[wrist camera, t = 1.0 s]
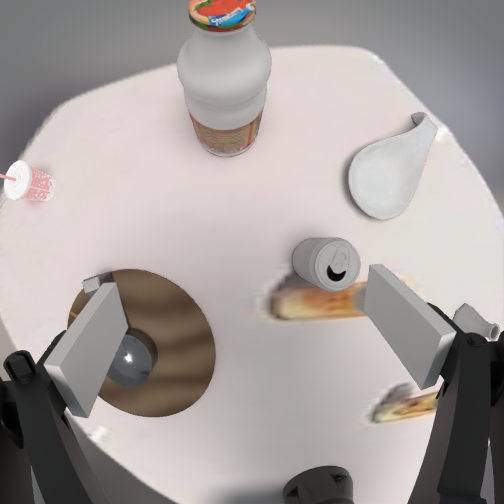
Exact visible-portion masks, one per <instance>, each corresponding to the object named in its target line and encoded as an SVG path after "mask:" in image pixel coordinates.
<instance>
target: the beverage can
mask: <svg viewBox="0 0 504 504" xmlns="http://www.w3.org/2000/svg"><path fill="white" fill-rule="evenodd" d="M293 266H294V269H295V271H296V272H297V274H298V275H299V276H300V277H302V278H303V279H305V280H307V281H309V282H311V283H312V284H314V285H316V286H318V287H320V288H322V289H324V290H327V291H332V292H335V291H340V290H343V289H345V288H347V287H349V286H350V285H352V284H353V283H354V282H355V280H356V279H357V277H358V275H359V272H360V267H361V262H360V257H359V254H358V252H357V251H356V249H355V248H354V247H353V246H352V245H351V244H350V243H349V242H348V241H346V240H344V239H341V238H311V239H307V240H304V241H303V242H301V243H300V244H299V245H298V246H297V247H296V249H295V251H294V254H293Z"/></svg>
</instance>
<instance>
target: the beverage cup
mask: <svg viewBox="0 0 504 504" xmlns="http://www.w3.org/2000/svg"><path fill="white" fill-rule="evenodd" d="M0 177H1V178H5V181H4V189H5V193H6V195H7V197H8V198H9V199H12V200H19V199H27V200H39V201H47V200H49V199H50V198H51V197H52V196H53V194H54V192H55V189H56V182H55V179H54V178H53V177H52V176H50V175H48V174H46V173H44V172H42V171H40V170H38V169H36V168H34V167H32V166H30V165H29V164H28V163H27V162H25V161H20V160H19V161H17V162H15V163H14V164H13V165H12V166H11V167H10V168H9V170H8V172H7V174H6V175H2V174H0Z"/></svg>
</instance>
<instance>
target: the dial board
mask: <svg viewBox="0 0 504 504" xmlns="http://www.w3.org/2000/svg"><path fill="white" fill-rule="evenodd" d="M111 274H112V277H113V280H114V283H116V284H117V288H118V292H119V296H120V300H121V302H122V305H123V308H124V310H125V313H126V316H127V318H128V321H129V323H130V326H131V328H136V329H139V330H141V331H143V332H145V333H146V334H147V335H148V336H149V337H150V338H151V339H152V340H153V342H154V343H155V345H156V348H157V353H158V358H157V362H156V364H155V366H154V368H153V370H152V371H151V373H150V375H149V376H148V378H147V379H146V381H145V382H144V383H142V384H141V385H139V386H136V387H125V386H122V385H119V384H117V383H115V382H114V381H112V380H111V379H110V378H109V377H108V376H107V375H106V377H105V379H104V381H103V384H102V386H101V388H100V391H99V393H98V396H99V397H101V398H102V399H103V400H104V401H106V402H107V403H109V404H110V405H112V406H114V407H116V408H118V409H120V410H122V411H124V412H127V413H130V414H133V415H138V416H143V417H164V416H169V415H173V414H176V413H179V412H181V411H183V410H185V409H187V408H188V407H190V406H191V405H193V404H194V403H195V402H196V401H197V400H198V399H199V398H200V397H201V396H202V395H203V393H204V392H205V390H206V389H207V387H208V385H209V383H210V381H211V378H212V375H213V371H214V364H215V345H214V339H213V335H212V332H211V329H210V326H209V324H208V322H207V320H206V318H205V316H204V314H203V313H202V311H201V309H200V308H199V307H198V305H197V304H196V303H195V302H194V300H193V299H192V298H191V297H190V296H189V295H188V294H187V293H186V292H185V291H184V290H182V289H181V288H180V287H178V286H177V285H176V284H174V283H173V282H171V281H169V280H168V279H166V278H164V277H161V276H159V275H157V274H154V273H150V272H147V271H142V270H133V269H125V270H117V271H113V272H111ZM89 301H90V299H89V296H88V293H85V291H84V288H83V289H82V290H81V292H80V293H79V294H78V296H77V297H76V299H75V301H74V303H73V305H72V308H71V310H70V314H69V318H68V327H67V330H68V328H69V327H70V326H71V324H72V323H73V322H74V320H75V319H76V318H77V316H78V315H79V314H80V312H81V311H82V310H83V308H84V307H85V306H86V304H87V303H88V302H89Z"/></svg>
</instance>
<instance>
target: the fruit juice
mask: <svg viewBox="0 0 504 504" xmlns="http://www.w3.org/2000/svg"><path fill="white" fill-rule="evenodd" d="M255 14H256V3H255V0H191V2H190V4H189V18H190V20H191V23H192V24H193V26H194V29H193V32H192V35H191V37H190V38H189V39H188V40H187V41H186V42H185V43H184V45H183V46H182V48H181V50H180V52H179V55H178V59H177V72H178V77H179V80H180V82H181V84H182V86H183V87H184V97H185V102H186V106H187V108H188V111H189V114H190V117H191V120H192V122H193V125H194V128H195V131H196V134H197V137H198V139H199V141H200V143H201V144H202V146H203V147H204V148H205V149H206V150H207V151H209V152H210V153H212V154H215V155H218V156H223V157H230V156H236V155H239V154H241V153H243V152H245V151H246V150H247V149H248V148H249V147H250V146H251V145H252V144H253V143H254V141H255V139H256V137H257V134H258V130H259V125H260V121H261V117H262V112H263V108H264V104H265V101H266V94H267V81H268V79H269V76H270V73H271V66H272V59H271V53H270V50H269V48H268V46H267V44H266V43H265V42H264V40H263V39H262V38H261V37H260V36H259V35H258V33H257V31H256V29H255V27H254V25H253V23H252V22H253V20H254V17H255Z"/></svg>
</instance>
